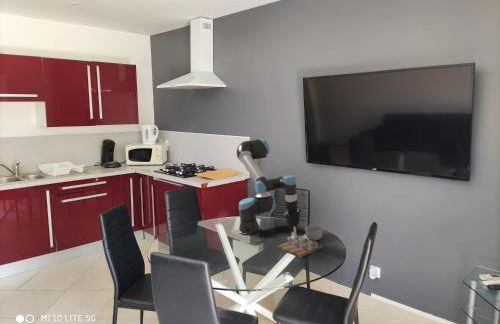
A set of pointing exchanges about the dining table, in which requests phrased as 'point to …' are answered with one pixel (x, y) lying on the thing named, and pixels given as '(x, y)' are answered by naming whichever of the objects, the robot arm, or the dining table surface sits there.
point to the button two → (301, 238)
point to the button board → (299, 247)
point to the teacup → (313, 232)
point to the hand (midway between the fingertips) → (294, 236)
